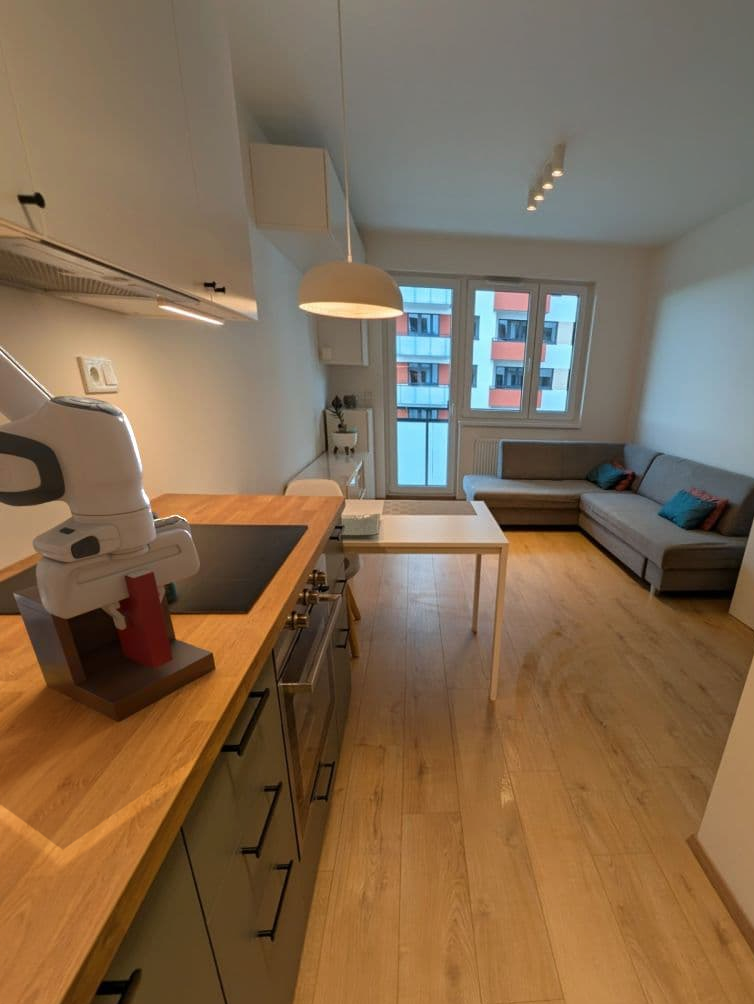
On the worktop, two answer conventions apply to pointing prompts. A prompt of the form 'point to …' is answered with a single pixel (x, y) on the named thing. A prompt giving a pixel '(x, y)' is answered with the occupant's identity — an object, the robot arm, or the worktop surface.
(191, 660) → the shelf
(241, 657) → the worktop surface
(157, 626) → the book
